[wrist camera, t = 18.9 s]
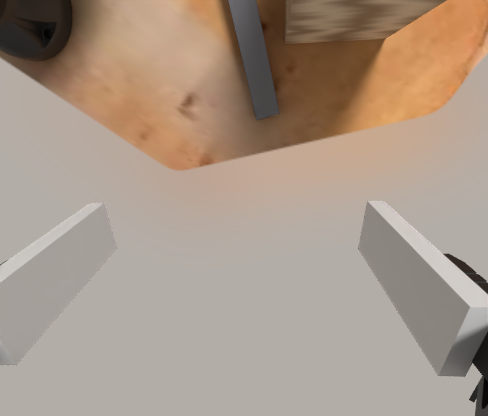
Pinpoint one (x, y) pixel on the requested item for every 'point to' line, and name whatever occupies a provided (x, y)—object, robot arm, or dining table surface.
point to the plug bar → (254, 57)
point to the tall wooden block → (349, 19)
